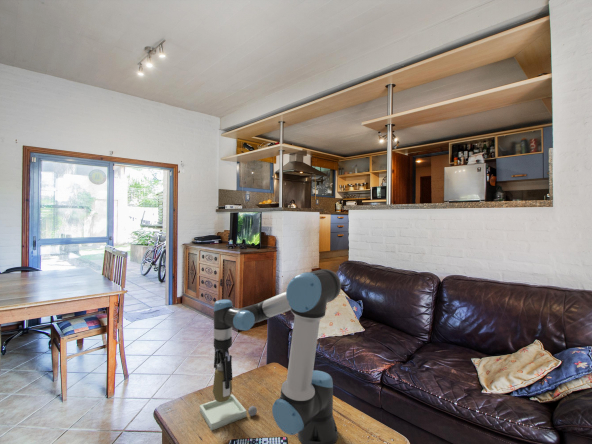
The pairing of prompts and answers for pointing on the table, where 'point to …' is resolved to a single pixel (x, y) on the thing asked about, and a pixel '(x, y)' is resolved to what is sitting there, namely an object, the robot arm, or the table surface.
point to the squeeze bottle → (220, 384)
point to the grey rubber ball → (252, 411)
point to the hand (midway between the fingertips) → (222, 390)
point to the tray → (222, 412)
